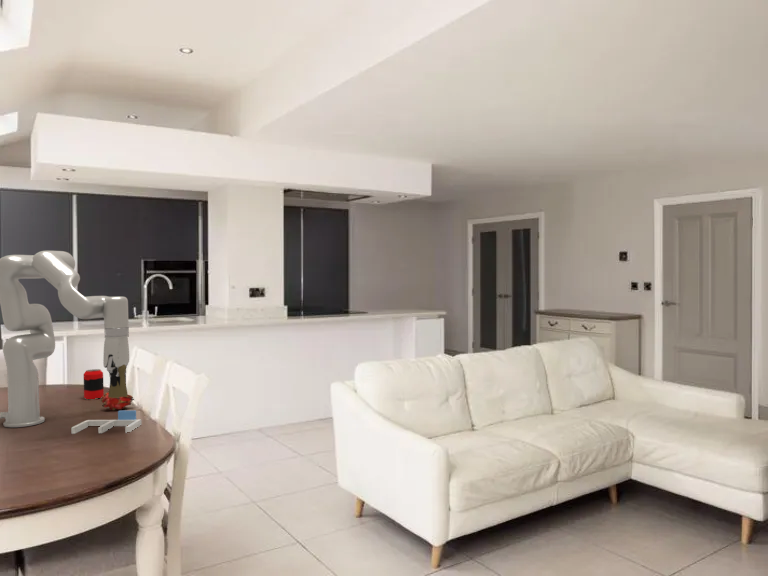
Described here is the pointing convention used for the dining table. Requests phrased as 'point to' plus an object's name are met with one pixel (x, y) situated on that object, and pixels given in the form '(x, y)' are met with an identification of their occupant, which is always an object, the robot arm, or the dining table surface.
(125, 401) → the dragon fruit
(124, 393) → the olive rounded piece
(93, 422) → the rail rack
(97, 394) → the soda can
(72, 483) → the dining table surface
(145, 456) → the dining table surface
